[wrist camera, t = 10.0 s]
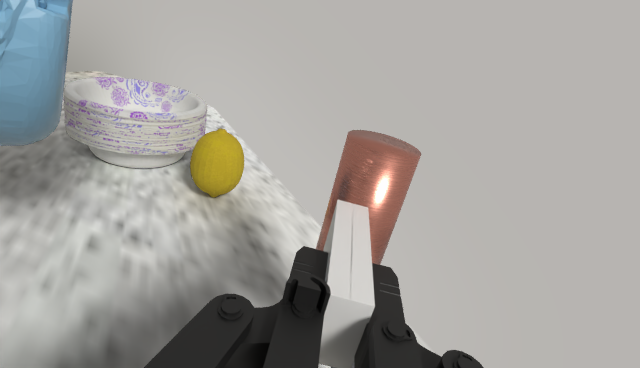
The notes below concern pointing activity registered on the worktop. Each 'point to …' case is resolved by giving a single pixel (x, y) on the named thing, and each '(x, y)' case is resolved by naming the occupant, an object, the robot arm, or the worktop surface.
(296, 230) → the worktop surface
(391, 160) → the lever
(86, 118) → the paper bowls
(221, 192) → the lemon
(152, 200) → the worktop surface
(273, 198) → the worktop surface
